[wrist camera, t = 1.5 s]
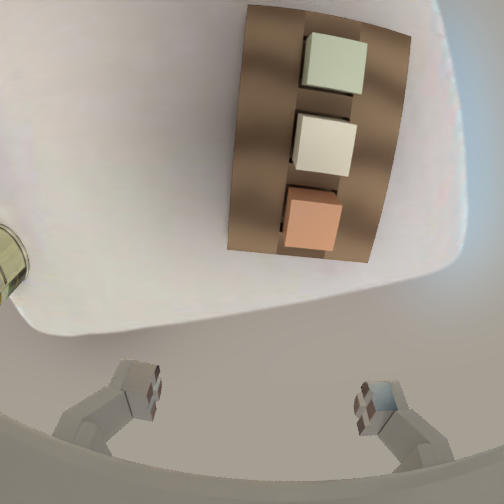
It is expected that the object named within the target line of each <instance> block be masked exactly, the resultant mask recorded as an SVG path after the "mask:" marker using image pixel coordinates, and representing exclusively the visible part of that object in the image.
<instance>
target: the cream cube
mask: <svg viewBox="0 0 504 504" xmlns="http://www.w3.org/2000/svg"><path fill="white" fill-rule="evenodd" d="M356 129H357V125H356V124H353V123H351V122H348V121H346V120H340V119H334V118H328V117H322V116H316V115H309V114H302V113H298V119H297V127H296V135H295V142H294V150H293V158H292V161H293V163H294V165H295V168H296V170H304V171H312V172H320V173H327V174H334V175H340V176H347V177H348V176H349V170H350V165H351V159H352V154H353V148H354V142H355V136H356Z"/></svg>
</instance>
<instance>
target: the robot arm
mask: <svg viewBox="0 0 504 504" xmlns="http://www.w3.org/2000/svg"><path fill="white" fill-rule="evenodd" d="M159 373H160V368H159V366H158V365H155V364H150V363H145V362H140V361H136V360H131V359H126V358H122V360H120V363H119V364H118V366H117V369H116V371H115V373H114V375H113V377H112V380H111V382H110V384H109V386H108V387H103V388H102V389H100V390H99V391H97V392H95V393H94V394H92V395H91V396H89V397H87V398H86V399H84V400H83V401H81V402H79V403H78V404H76V405H74V406H73V407H71V408H69V409H68V410H66V411H65V412H63V414H62V416H61V418H60V420H59V422H58V424H57V426H56V428H55V430H54V432H53V434H52V436H50V435H48V434H46V433H43V432H41V431H38V430H36V429H34V428H32V427H29V426H27V425H25V424H23V423H21V422H19V421H17V420H14V419H12V418H10V417H8V416H6V415H4V414H2V413H1V412H0V504H504V445H502V446H499V447H496V448H493V449H491V450H488V451H484V452H481V453H478V454H475V455H472V456H469V457H465V458H461V459H458V460H454V457H453V454H452V451H451V448H450V446H449V443H448V440H447V438H446V437H445V436H443V435H442V434H441V433H440V432H439V431H437V430H436V429H435V428H434V427H433V426H431V425H430V424H429V423H428V422H427V421H426V420H424V419H423V418H422V417H421V416H419V415H418V414H417V413H416V412H415V411H414V410H412V409H409V407H408V405H407V402H406V399H405V396H404V394H403V391H402V388H401V386H400V383H399V382H398V381H397V380H396V381H366V382H364V383H363V384H362V386H361V390H362V391H361V392H360V393H358V394H357V396H356V398H355V402H354V412H355V415H356V416H357V417H358V418H359V421H358V422H357V426H358V431H359V435H360V436H367V435H378V437H379V438H380V439H381V441H382V442H383V443H384V444H385V445H386V446H387V448H388V449H389V450H390V451H391V452H392V453H393V455H394V456H395V457H396V458H397V459H398V460H399V462H400V463H401V464H400V465H399V466H398V467H397V468H396V469H395V470H394V471H393V472H392V473H393V474H387V475H380V476H372V477H364V478H353V479H342V480H326V481H259V480H243V479H232V478H222V477H213V476H205V475H197V474H191V473H184V472H179V471H173V470H168V469H163V468H158V467H153V466H148V465H144V464H140V463H135V462H131V461H127V460H124V459H120V458H116V457H113V456H112V454H111V452H110V450H109V449H108V447H107V445H106V443H105V442H107V441H108V440H109V439H110V438H111V437H112V436H114V435H115V434H116V433H117V432H118V431H119V430H121V429H122V428H123V427H124V426H125V425H126V424H127V423H129V422H130V421H131V420H132V419H133V418H137V419H143V420H147V421H153V419H154V416H155V412H156V402H157V401H158V400H159V399H160V395H161V388H162V381H161V378H160V377H159Z"/></svg>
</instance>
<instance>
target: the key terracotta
mask: <svg viewBox="0 0 504 504" xmlns="http://www.w3.org/2000/svg"><path fill="white" fill-rule="evenodd" d="M341 211H342V204H341V202H340V201H339V199H338V198H337V196H336V195H335V193H334V192H327V191H320V190H312V189H304V188H295V187H289V188H288V195H287V202H286V209H285V216H284V223H283V236H284V244H285V246H286V247H296V248H307V249H317V250H327V251H333V247H334V243H335V239H336V234H337V230H338V225H339V220H340V216H341Z"/></svg>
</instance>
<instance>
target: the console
mask: <svg viewBox="0 0 504 504" xmlns="http://www.w3.org/2000/svg"><path fill="white" fill-rule="evenodd" d="M312 32H314V33H320V34H326V35H331V36H336V37H341V38H346V39H350V40H355V41H359V42H363V43H367V54H366V63H365V72H364V80H363V88H362V94H352V93H346V92H340V91H335V90H330V89H324V88H318V87H312V86H305V85H302V76H303V67H304V58H305V48H306V39H307V38H308V37H309V36H310V35H311V33H312ZM410 44H411V36H408V35H405V34H402V33H399V32H395V31H392V30H389V29H385V28H382V27H379V26H375V25H371V24H367V23H364V22H360V21H355V20H351V19H347V18H342V17H338V16H333V15H327V14H322V13H316V12H310V11H304V10H297V9H290V8H282V7H272V6H261V5H248V8H247V17H246V26H245V36H244V46H243V56H242V66H241V76H240V87H239V98H238V109H237V121H236V133H235V145H234V158H233V171H232V184H231V198H230V212H229V227H228V243H227V250H237V251H247V252H258V253H268V254H279V255H289V256H300V257H310V258H321V259H331V260H342V261H352V262H363V263H368V260H369V257H370V253H371V250H372V246H373V243H374V239H375V236H376V232H377V228H378V224H379V220H380V217H381V213H382V209H383V205H384V200H385V196H386V192H387V188H388V183H389V179H390V174H391V169H392V165H393V160H394V155H395V150H396V145H397V139H398V134H399V128H400V122H401V116H402V110H403V103H404V96H405V89H406V81H407V73H408V64H409V55H410ZM298 113H302V114H309V115H316V116H322V117H328V118H334V119H340V120H346V121H348V122H351V123H353V124H356V125H357V129H356V136H355V142H354V148H353V154H352V159H351V165H350V170H349V176H348V177H347V176H340V175H334V174H327V173H320V172H312V171H304V170H296V168H295V165H294V163H293V161H292V158H293V150H294V142H295V135H296V127H297V119H298ZM289 187H295V188H304V189H312V190H320V191H327V192H334V193H335V195H336V196H337V198H338V199H339V201H340V202H341V204H342V211H341V216H340V220H339V225H338V230H337V234H336V239H335V243H334V247H333V251H327V250H317V249H307V248H296V247H286V246H285V244H284V236H283V223H284V216H285V209H286V202H287V195H288V188H289Z"/></svg>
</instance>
